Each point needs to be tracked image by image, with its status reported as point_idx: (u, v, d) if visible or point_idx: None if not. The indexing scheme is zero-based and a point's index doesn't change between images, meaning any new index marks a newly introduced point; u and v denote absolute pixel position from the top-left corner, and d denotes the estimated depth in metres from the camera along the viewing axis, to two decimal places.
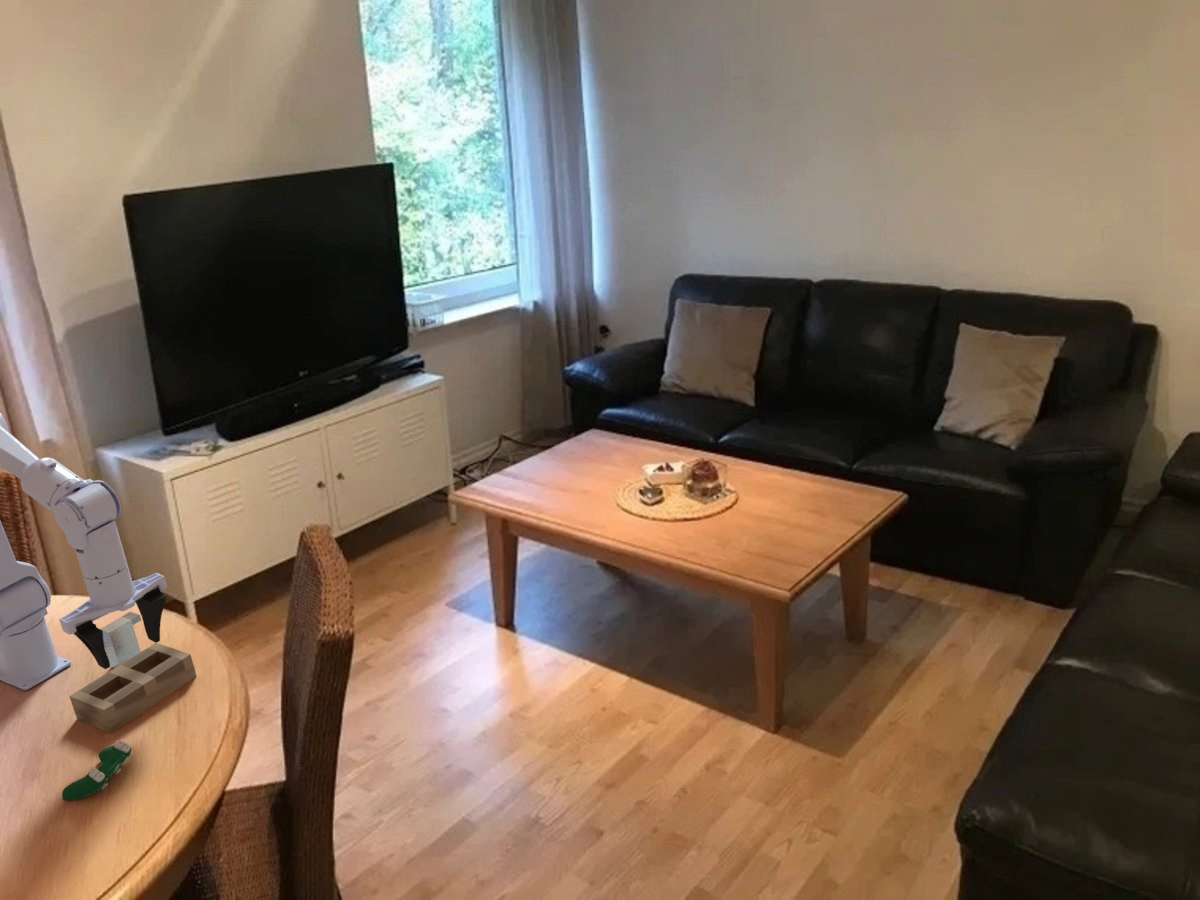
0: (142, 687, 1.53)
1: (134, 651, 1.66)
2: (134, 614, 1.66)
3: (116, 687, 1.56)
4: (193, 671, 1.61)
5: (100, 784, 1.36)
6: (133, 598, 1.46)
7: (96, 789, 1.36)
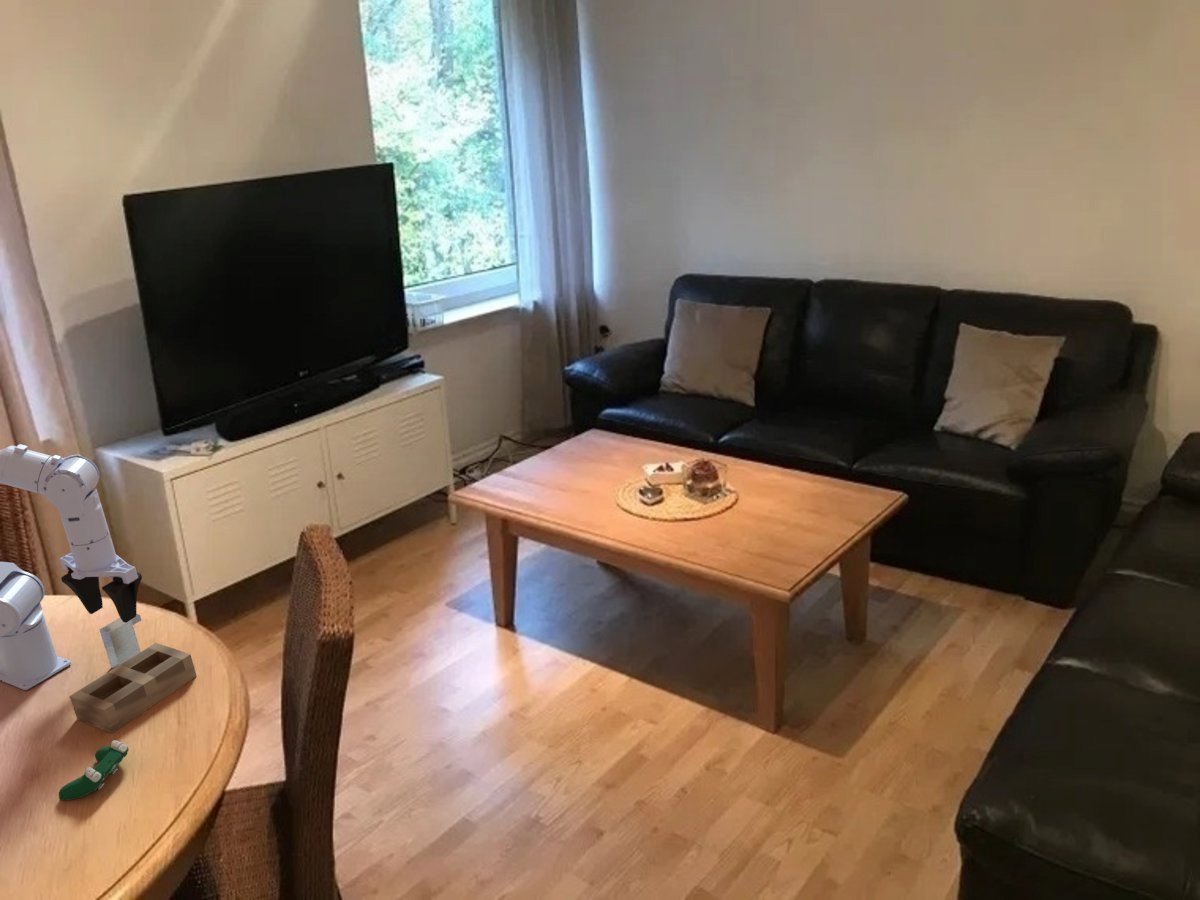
0: (142, 687, 1.53)
1: (134, 651, 1.66)
2: None
3: (116, 687, 1.56)
4: (193, 671, 1.61)
5: (97, 784, 1.36)
6: (88, 573, 1.57)
7: (93, 789, 1.36)
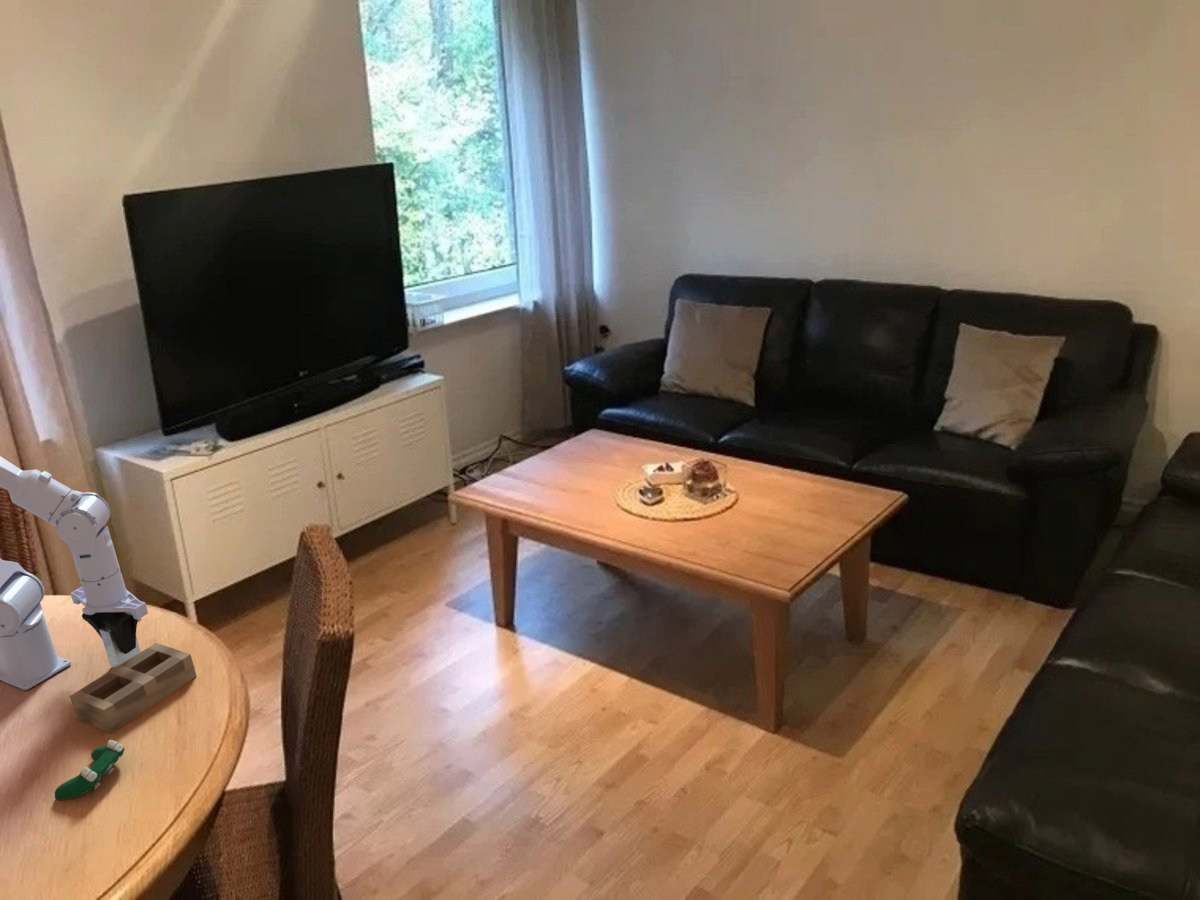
0: (142, 687, 1.53)
1: (134, 651, 1.66)
2: None
3: (116, 687, 1.56)
4: (193, 671, 1.61)
5: (92, 783, 1.36)
6: (99, 609, 1.59)
7: (88, 788, 1.36)
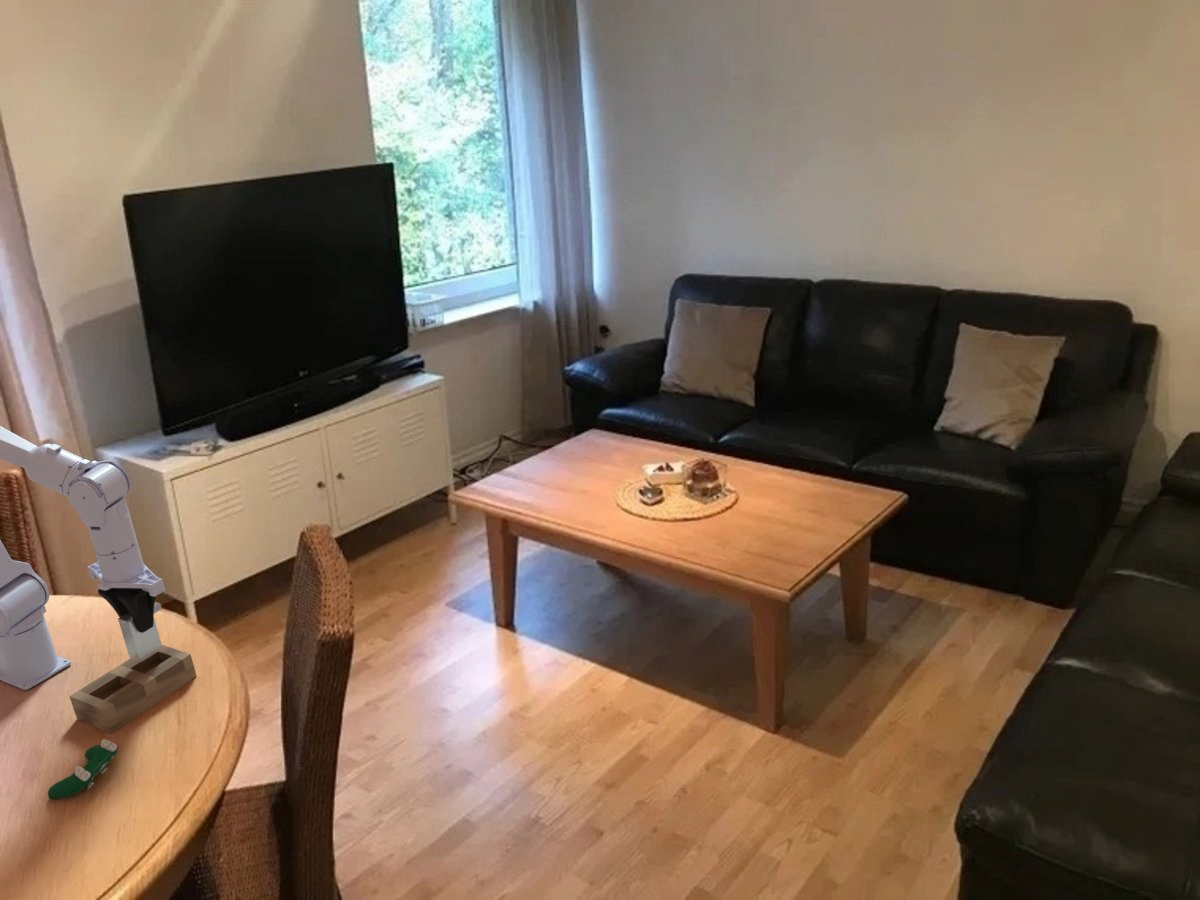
0: (142, 687, 1.53)
1: (154, 641, 1.58)
2: (154, 603, 1.58)
3: (116, 687, 1.56)
4: (193, 671, 1.61)
5: (86, 783, 1.36)
6: (114, 584, 1.50)
7: (82, 788, 1.36)
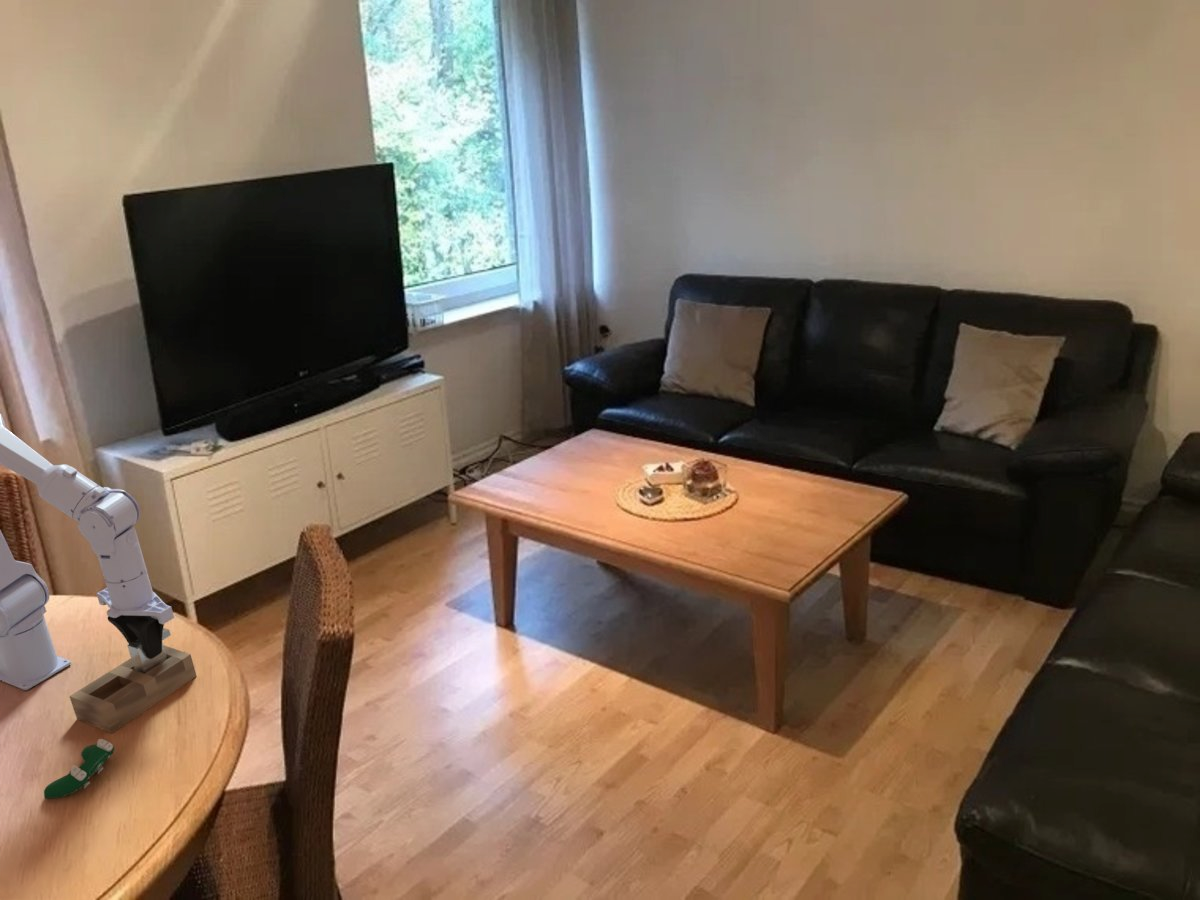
0: (142, 687, 1.53)
1: None
2: (163, 629, 1.59)
3: (116, 687, 1.56)
4: (193, 671, 1.61)
5: (82, 783, 1.36)
6: (123, 612, 1.52)
7: (78, 788, 1.36)
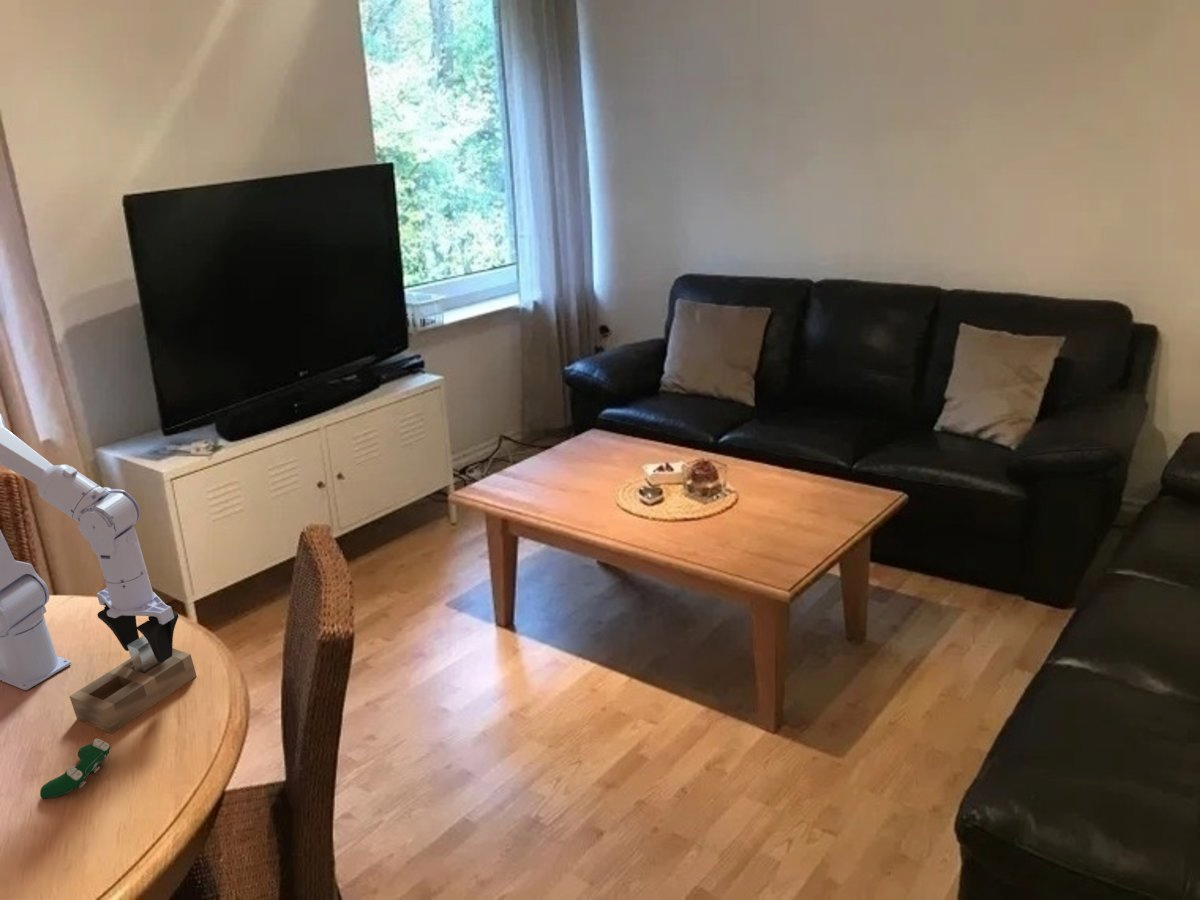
0: (142, 687, 1.53)
1: None
2: None
3: (116, 687, 1.56)
4: (193, 671, 1.61)
5: (78, 782, 1.37)
6: (123, 612, 1.52)
7: (74, 787, 1.37)
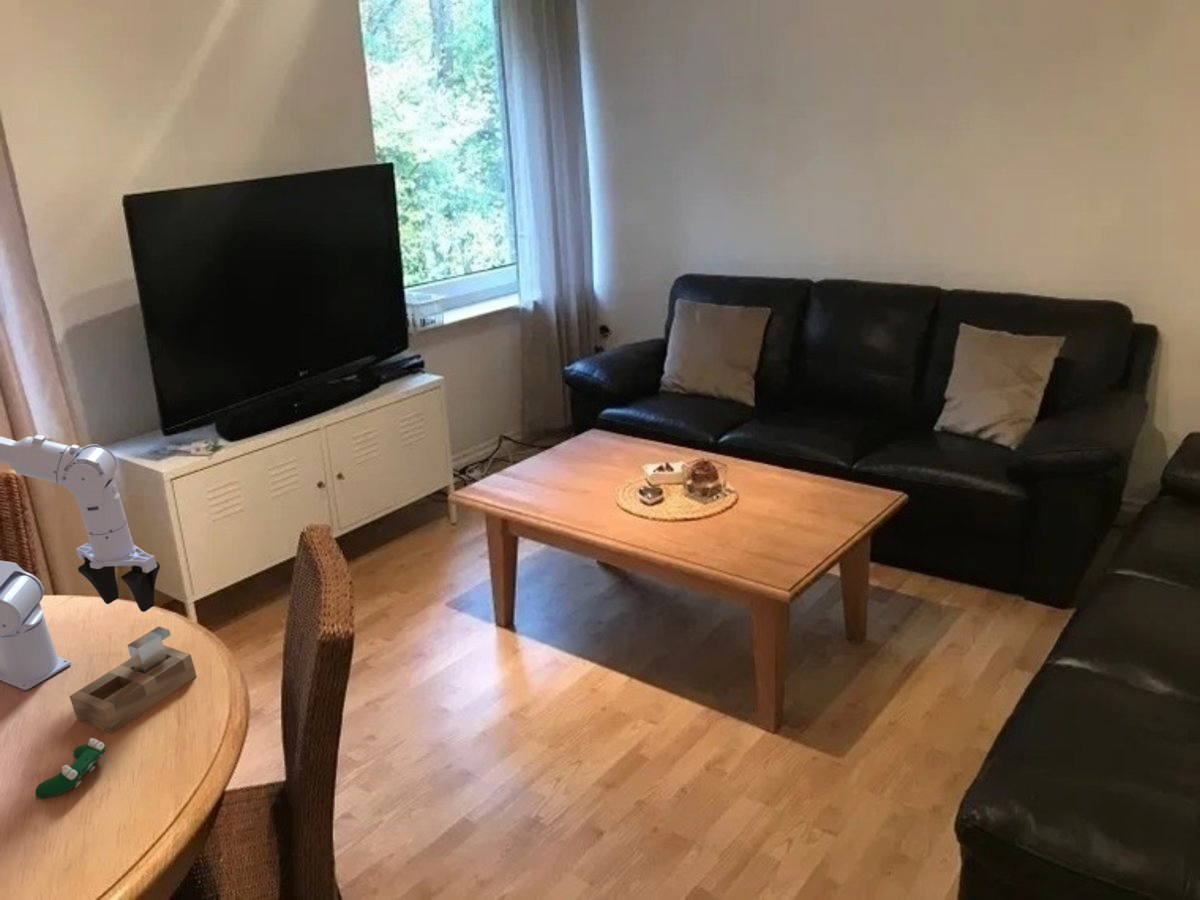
0: (142, 687, 1.53)
1: None
2: (163, 629, 1.59)
3: (116, 687, 1.56)
4: (193, 671, 1.61)
5: (73, 782, 1.37)
6: (107, 563, 1.57)
7: (69, 787, 1.37)
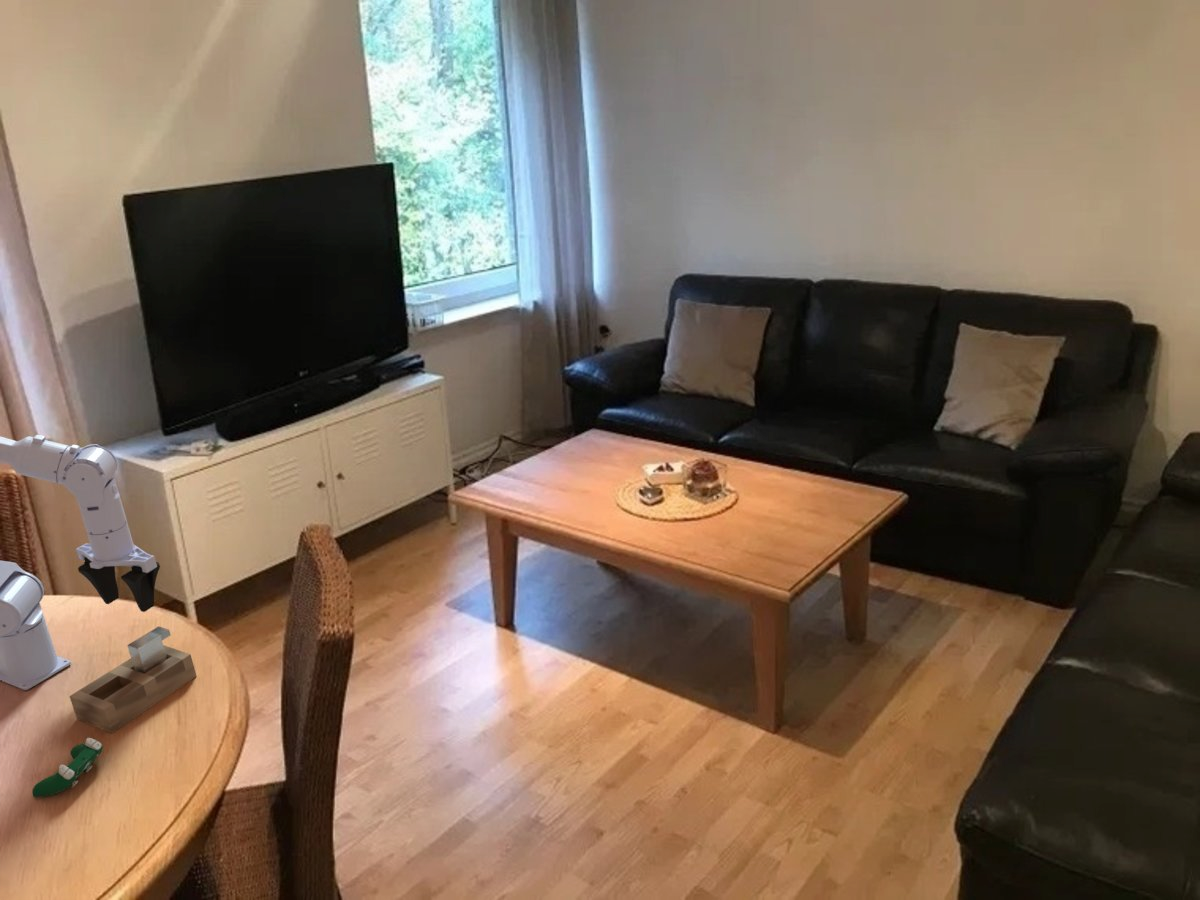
0: (142, 687, 1.53)
1: None
2: (163, 629, 1.59)
3: (116, 687, 1.56)
4: (193, 671, 1.61)
5: (70, 781, 1.37)
6: (107, 563, 1.57)
7: (66, 786, 1.37)
